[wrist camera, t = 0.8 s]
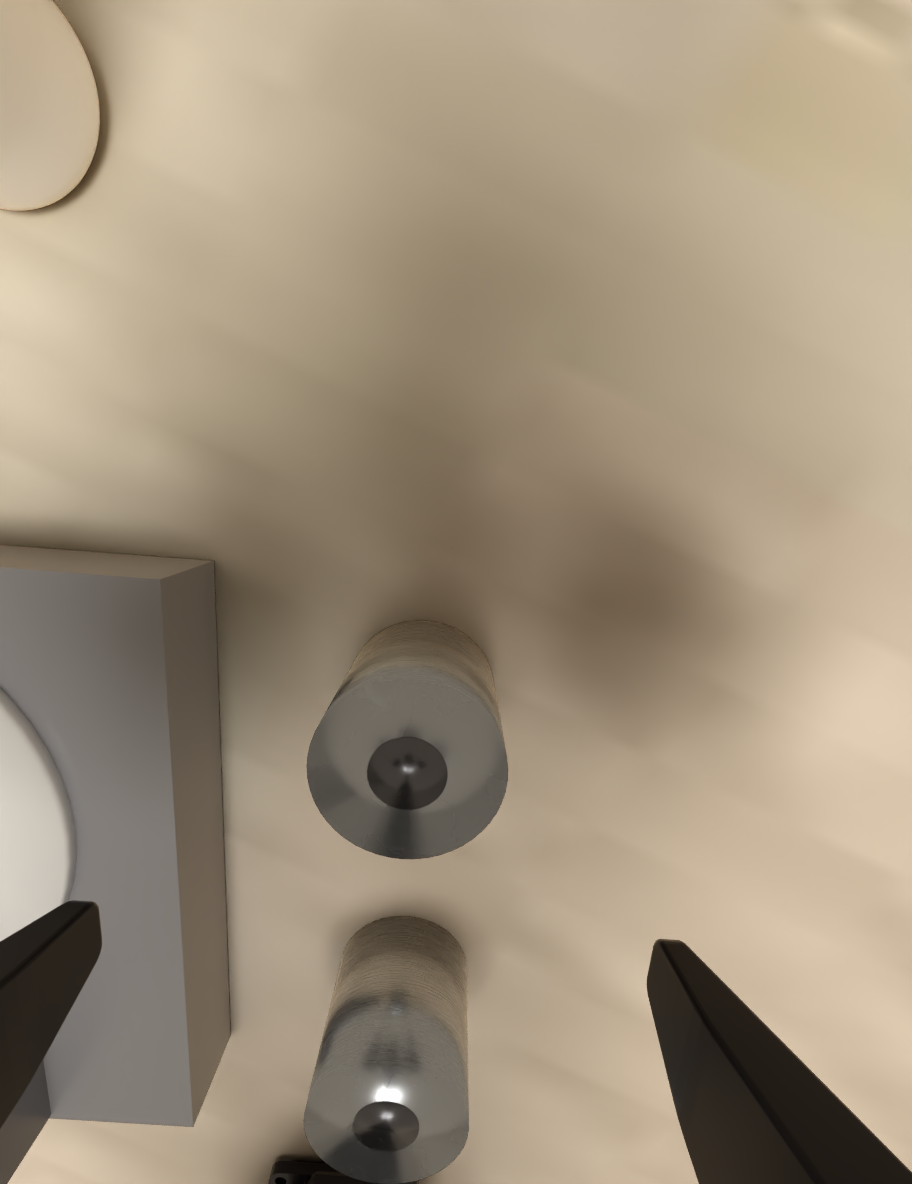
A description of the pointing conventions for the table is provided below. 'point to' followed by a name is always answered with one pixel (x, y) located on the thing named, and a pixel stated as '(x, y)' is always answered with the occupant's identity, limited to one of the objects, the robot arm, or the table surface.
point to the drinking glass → (43, 106)
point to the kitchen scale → (116, 825)
